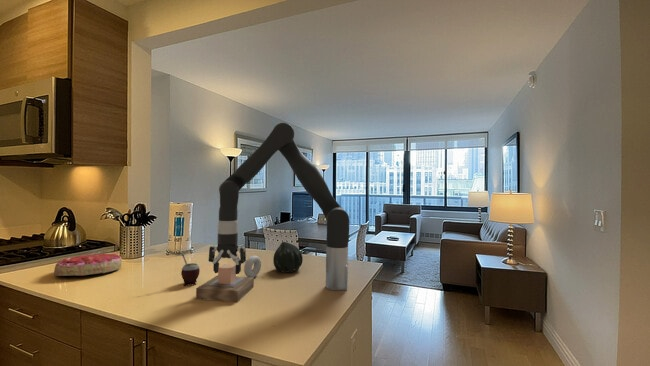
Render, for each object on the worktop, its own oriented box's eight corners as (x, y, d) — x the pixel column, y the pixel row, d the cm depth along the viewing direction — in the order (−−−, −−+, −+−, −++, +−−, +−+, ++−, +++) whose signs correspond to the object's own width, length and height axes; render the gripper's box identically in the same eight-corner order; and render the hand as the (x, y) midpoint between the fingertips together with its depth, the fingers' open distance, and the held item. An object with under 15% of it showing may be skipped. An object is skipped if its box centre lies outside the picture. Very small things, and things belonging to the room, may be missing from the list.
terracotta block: (235, 280, 118) (236, 264, 118) (230, 284, 113) (230, 268, 113) (224, 279, 118) (224, 264, 118) (218, 283, 113) (218, 267, 113)
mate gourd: (202, 282, 127) (203, 247, 127) (187, 288, 120) (188, 251, 120) (190, 280, 130) (191, 245, 130) (174, 285, 123) (175, 249, 123)
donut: (247, 281, 130) (248, 258, 130) (241, 279, 131) (242, 257, 131) (262, 275, 139) (263, 253, 139) (256, 274, 140) (257, 253, 140)
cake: (77, 281, 123) (79, 261, 124) (39, 276, 131) (40, 258, 132) (133, 269, 146) (134, 252, 147) (98, 266, 154) (98, 250, 155)
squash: (312, 259, 148) (297, 235, 153) (294, 267, 136) (277, 240, 141) (296, 274, 154) (281, 250, 159) (277, 283, 142) (261, 256, 147)
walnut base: (253, 287, 122) (253, 276, 122) (237, 302, 106) (237, 290, 106) (217, 284, 124) (217, 274, 124) (196, 299, 108) (196, 287, 108)
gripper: (248, 231, 118) (248, 271, 118) (215, 229, 120) (214, 269, 120) (241, 234, 111) (240, 277, 111) (205, 232, 113) (204, 275, 113)
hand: (226, 273), depth 115 cm, fingers open, 8 cm apart
